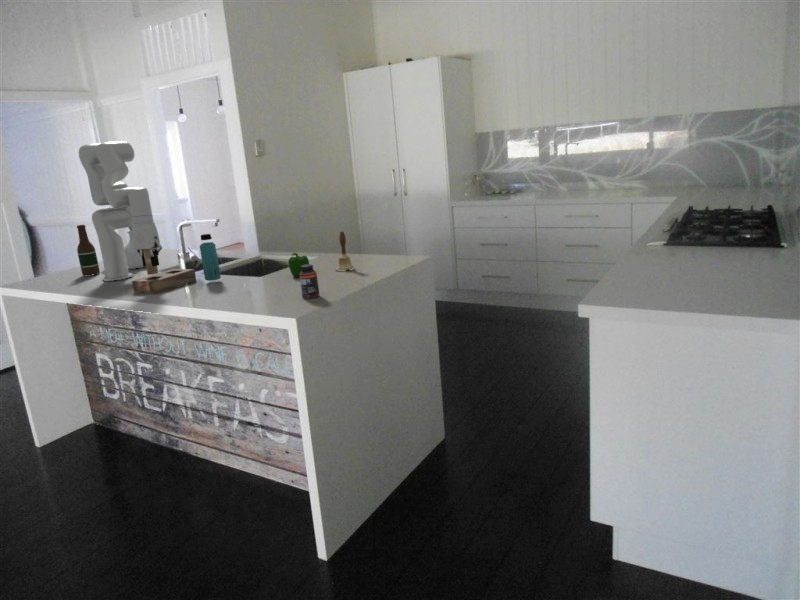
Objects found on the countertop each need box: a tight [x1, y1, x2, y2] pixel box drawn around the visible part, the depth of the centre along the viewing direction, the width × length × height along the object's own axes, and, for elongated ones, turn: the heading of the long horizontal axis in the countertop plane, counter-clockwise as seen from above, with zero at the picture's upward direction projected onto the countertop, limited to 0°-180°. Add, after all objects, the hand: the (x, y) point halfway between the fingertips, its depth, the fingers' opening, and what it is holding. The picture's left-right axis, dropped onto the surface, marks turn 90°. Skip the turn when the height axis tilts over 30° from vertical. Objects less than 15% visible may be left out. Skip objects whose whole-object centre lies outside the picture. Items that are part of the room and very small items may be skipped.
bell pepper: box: [288, 252, 310, 278], centre depth 246 cm, size 8×8×10 cm
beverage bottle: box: [199, 233, 221, 282], centre depth 246 cm, size 6×7×20 cm
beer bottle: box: [76, 224, 101, 276], centre depth 288 cm, size 8×8×24 cm
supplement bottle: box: [299, 263, 320, 300], centre depth 208 cm, size 6×6×11 cm
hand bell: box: [335, 231, 355, 271], centre depth 250 cm, size 8×8×16 cm
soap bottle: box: [124, 226, 146, 270], centre depth 297 cm, size 10×10×23 cm
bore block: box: [131, 268, 197, 295], centre depth 247 cm, size 12×22×5 cm, turn 156°
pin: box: [143, 247, 159, 276], centre depth 240 cm, size 4×4×12 cm
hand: (151, 265), depth 240 cm, fingers closed on pin, 4 cm apart
